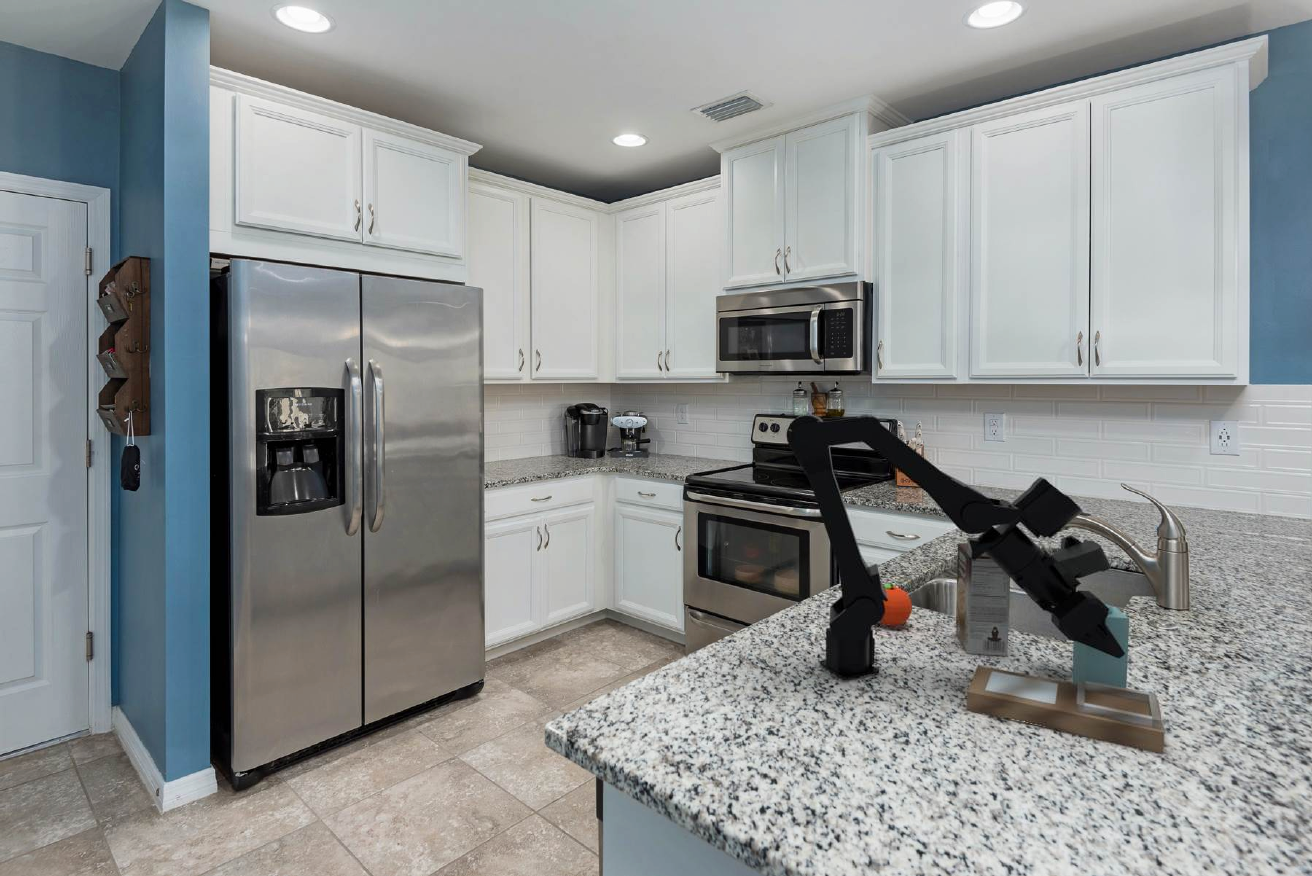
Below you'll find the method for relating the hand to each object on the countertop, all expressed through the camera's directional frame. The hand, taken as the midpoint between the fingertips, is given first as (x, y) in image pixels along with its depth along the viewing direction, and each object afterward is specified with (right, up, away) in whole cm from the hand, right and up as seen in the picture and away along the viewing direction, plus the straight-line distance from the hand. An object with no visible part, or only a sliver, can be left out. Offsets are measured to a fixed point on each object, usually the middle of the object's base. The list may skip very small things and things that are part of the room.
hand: (1108, 643), depth 96 cm
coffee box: (-9, -6, +19) cm, 21 cm away
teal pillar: (-1, -7, +1) cm, 7 cm away
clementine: (-20, -5, +29) cm, 36 cm away
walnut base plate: (-10, -8, -6) cm, 14 cm away
